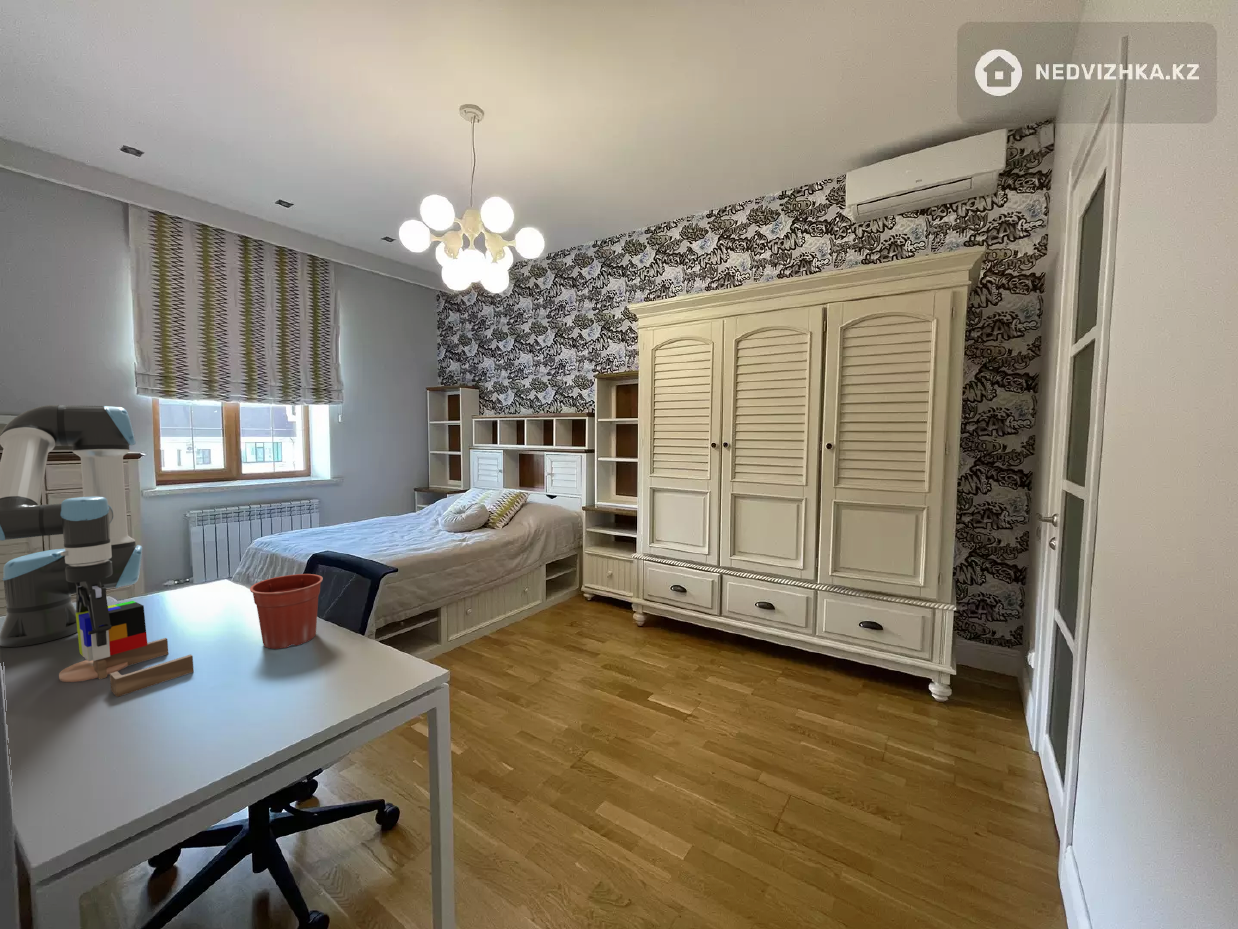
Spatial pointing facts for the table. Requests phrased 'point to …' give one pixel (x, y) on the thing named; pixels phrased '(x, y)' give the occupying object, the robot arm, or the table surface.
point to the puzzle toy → (115, 629)
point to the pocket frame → (143, 676)
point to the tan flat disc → (85, 671)
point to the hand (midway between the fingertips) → (95, 652)
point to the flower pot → (287, 609)
